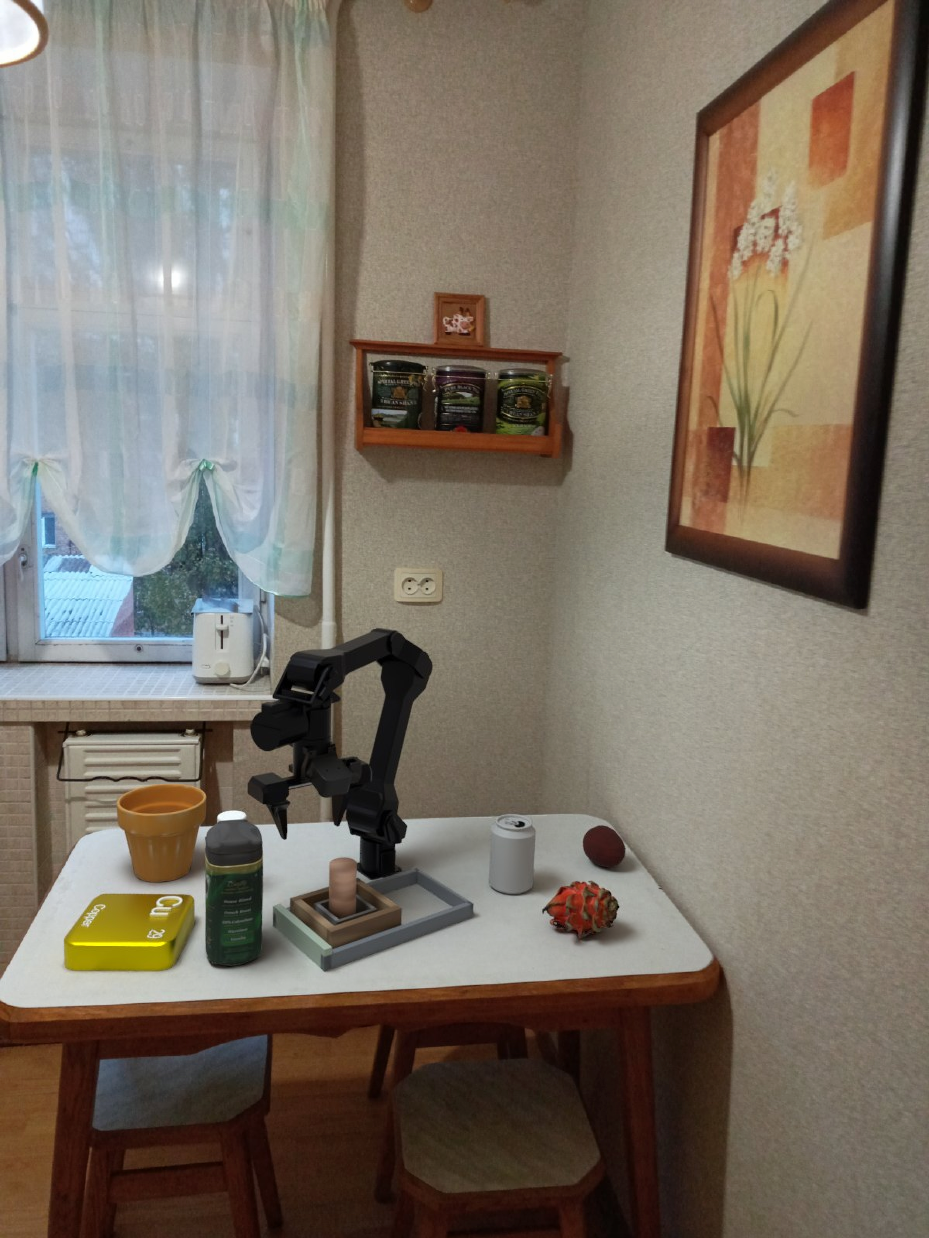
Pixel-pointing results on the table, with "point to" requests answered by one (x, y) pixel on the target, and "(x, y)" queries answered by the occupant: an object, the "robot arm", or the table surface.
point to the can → (512, 854)
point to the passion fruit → (604, 846)
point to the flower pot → (161, 828)
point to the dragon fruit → (582, 908)
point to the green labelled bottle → (233, 892)
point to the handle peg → (342, 887)
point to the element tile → (130, 933)
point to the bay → (353, 951)
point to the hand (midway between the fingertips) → (310, 832)
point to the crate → (368, 920)
